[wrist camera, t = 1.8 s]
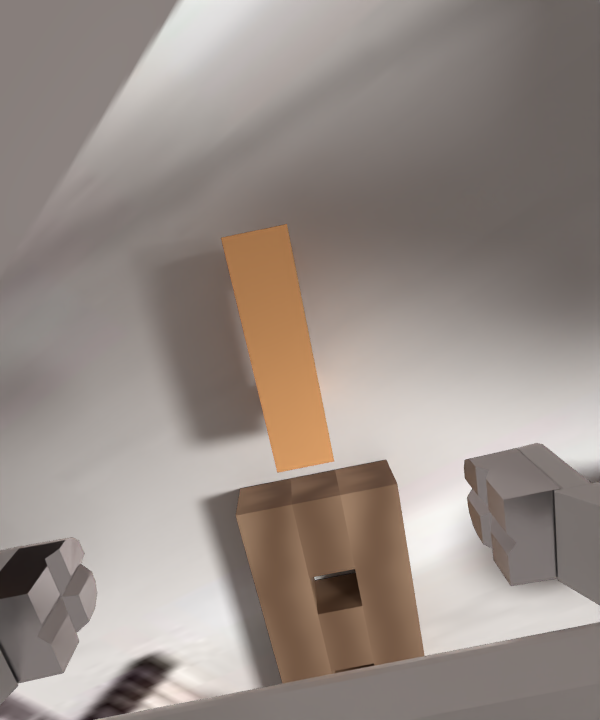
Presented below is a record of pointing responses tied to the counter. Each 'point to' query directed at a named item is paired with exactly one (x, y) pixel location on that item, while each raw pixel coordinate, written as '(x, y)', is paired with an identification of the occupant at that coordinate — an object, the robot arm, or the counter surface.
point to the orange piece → (279, 345)
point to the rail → (331, 570)
